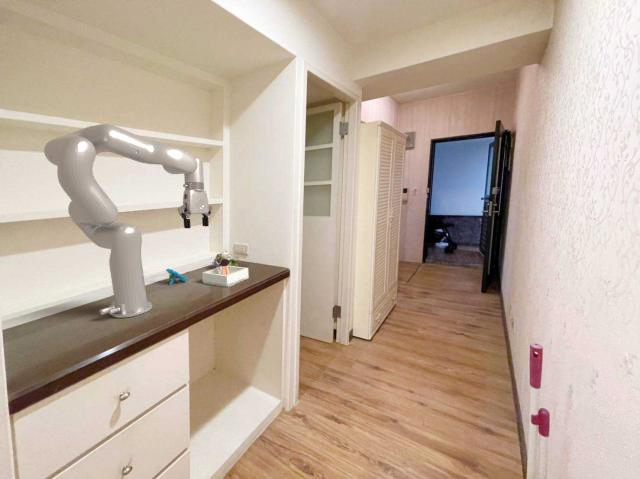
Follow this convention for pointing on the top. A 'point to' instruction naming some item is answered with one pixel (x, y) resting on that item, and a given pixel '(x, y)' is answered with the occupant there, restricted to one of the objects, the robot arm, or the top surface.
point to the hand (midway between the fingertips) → (196, 227)
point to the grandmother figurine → (224, 264)
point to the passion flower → (219, 258)
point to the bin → (225, 276)
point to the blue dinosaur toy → (175, 276)
